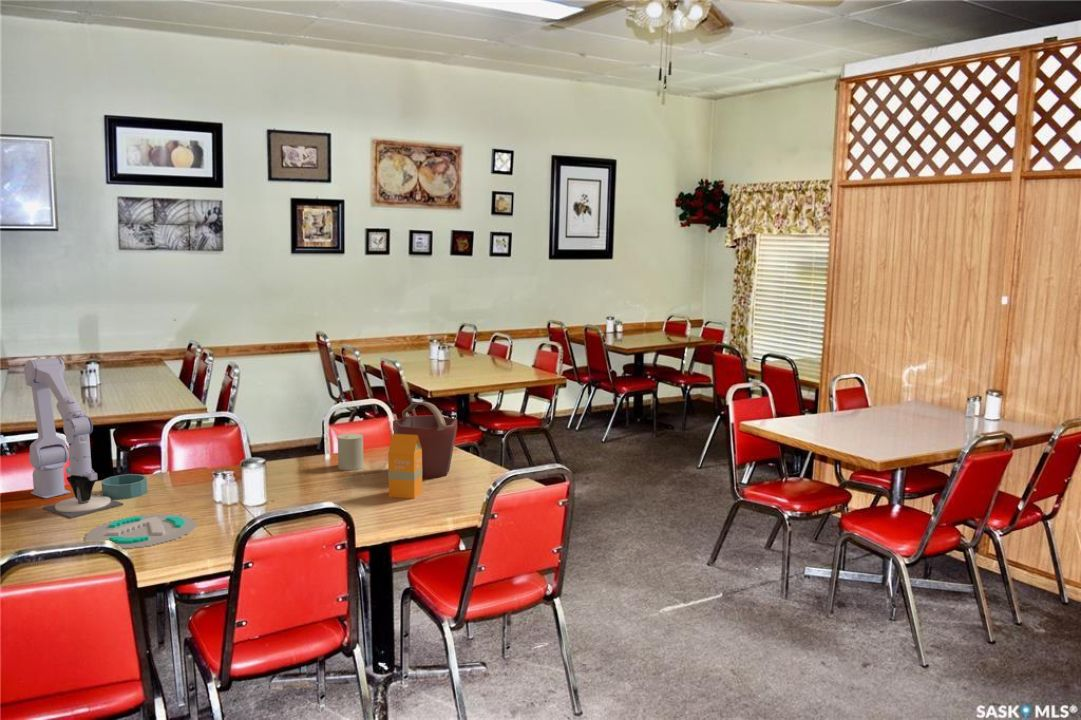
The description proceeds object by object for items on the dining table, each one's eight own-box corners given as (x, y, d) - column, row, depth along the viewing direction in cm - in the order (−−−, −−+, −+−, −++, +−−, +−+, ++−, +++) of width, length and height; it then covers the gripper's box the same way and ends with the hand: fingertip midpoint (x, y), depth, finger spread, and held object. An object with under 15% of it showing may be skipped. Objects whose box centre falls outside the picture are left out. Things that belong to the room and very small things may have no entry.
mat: (43, 508, 260) (43, 506, 260) (95, 495, 273) (95, 494, 273) (70, 518, 251) (70, 516, 251) (123, 504, 264) (123, 503, 264)
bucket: (388, 466, 311) (387, 399, 307) (447, 461, 319) (446, 395, 316) (405, 484, 288) (404, 412, 285) (467, 478, 297) (467, 407, 294)
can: (333, 469, 307) (332, 436, 305) (346, 463, 316) (345, 431, 314) (356, 471, 304) (355, 438, 302) (368, 465, 313) (367, 433, 311)
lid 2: (209, 516, 255) (209, 511, 255) (172, 550, 228) (172, 544, 228) (114, 516, 254) (114, 511, 254) (65, 550, 227) (65, 545, 227)
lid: (45, 506, 260) (44, 488, 259) (94, 494, 272) (93, 477, 271) (71, 516, 252) (70, 496, 251) (120, 503, 264) (119, 485, 263)
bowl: (94, 494, 274) (93, 481, 274) (132, 485, 285) (132, 472, 284) (116, 501, 267) (115, 487, 266) (155, 491, 278) (154, 478, 277)
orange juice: (414, 498, 273) (413, 437, 270) (388, 496, 275) (387, 436, 272) (422, 491, 280) (422, 432, 278) (397, 490, 282) (396, 430, 279)
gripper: (54, 455, 260) (57, 498, 262) (79, 462, 252) (82, 506, 254) (77, 450, 266) (80, 492, 268) (102, 457, 258) (105, 501, 260)
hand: (83, 499), depth 262 cm, fingers closed on lid, 3 cm apart
